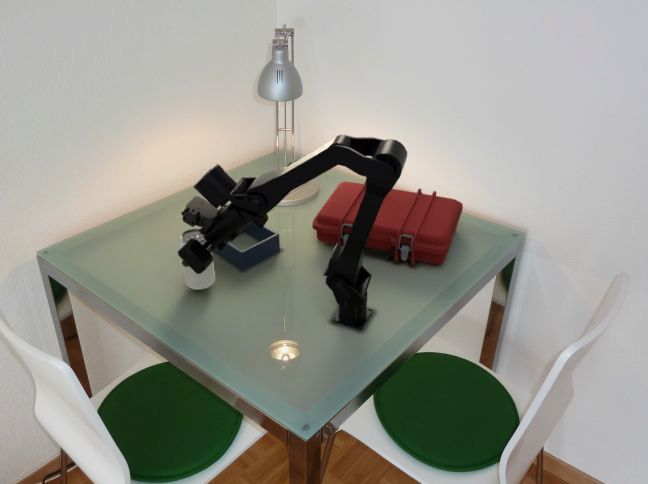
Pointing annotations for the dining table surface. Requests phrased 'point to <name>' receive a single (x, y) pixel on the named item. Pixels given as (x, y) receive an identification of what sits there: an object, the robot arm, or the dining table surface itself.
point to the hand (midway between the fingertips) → (191, 255)
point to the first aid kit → (393, 223)
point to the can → (190, 276)
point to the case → (252, 247)
